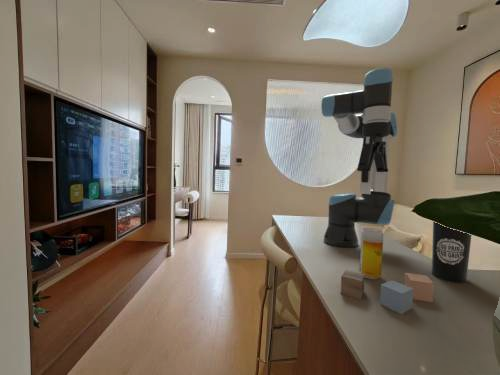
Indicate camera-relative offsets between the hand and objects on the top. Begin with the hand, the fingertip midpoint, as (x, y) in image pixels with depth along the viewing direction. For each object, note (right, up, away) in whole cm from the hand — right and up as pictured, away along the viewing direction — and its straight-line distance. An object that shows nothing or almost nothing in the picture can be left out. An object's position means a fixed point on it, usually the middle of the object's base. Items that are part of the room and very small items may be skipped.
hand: (372, 192), depth 73 cm
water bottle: (+25, -27, +2) cm, 37 cm away
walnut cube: (-10, -27, -9) cm, 30 cm away
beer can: (0, -27, +2) cm, 27 cm away
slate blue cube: (-2, -28, -16) cm, 32 cm away
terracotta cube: (+7, -27, -10) cm, 30 cm away
